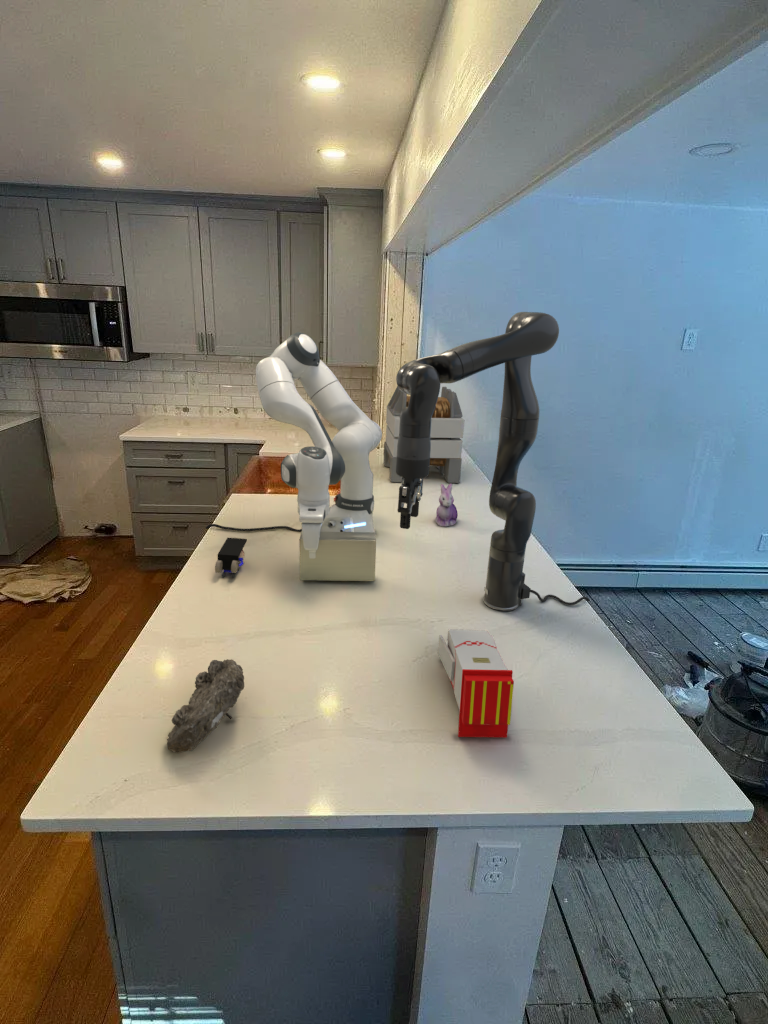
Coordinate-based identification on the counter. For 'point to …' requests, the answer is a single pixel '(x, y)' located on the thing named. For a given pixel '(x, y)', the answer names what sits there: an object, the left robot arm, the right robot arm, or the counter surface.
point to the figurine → (446, 508)
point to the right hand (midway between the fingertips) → (409, 521)
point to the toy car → (230, 556)
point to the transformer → (443, 435)
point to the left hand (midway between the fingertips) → (313, 552)
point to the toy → (478, 682)
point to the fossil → (206, 705)
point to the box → (340, 557)
